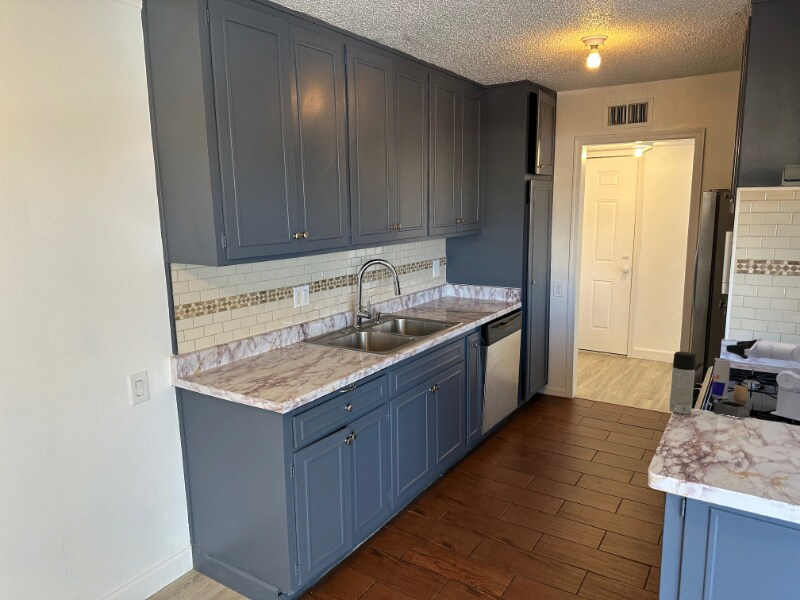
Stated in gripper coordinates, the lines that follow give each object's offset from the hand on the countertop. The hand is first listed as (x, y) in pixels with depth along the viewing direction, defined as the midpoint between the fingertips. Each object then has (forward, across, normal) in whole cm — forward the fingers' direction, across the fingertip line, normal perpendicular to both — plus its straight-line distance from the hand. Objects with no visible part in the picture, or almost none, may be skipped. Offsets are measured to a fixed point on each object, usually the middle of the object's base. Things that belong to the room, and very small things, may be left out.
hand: (732, 346), depth 201 cm
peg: (-6, +9, +20) cm, 23 cm away
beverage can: (+4, +1, +20) cm, 21 cm away
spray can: (+3, +31, +18) cm, 36 cm away
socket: (-8, +18, +19) cm, 28 cm away
